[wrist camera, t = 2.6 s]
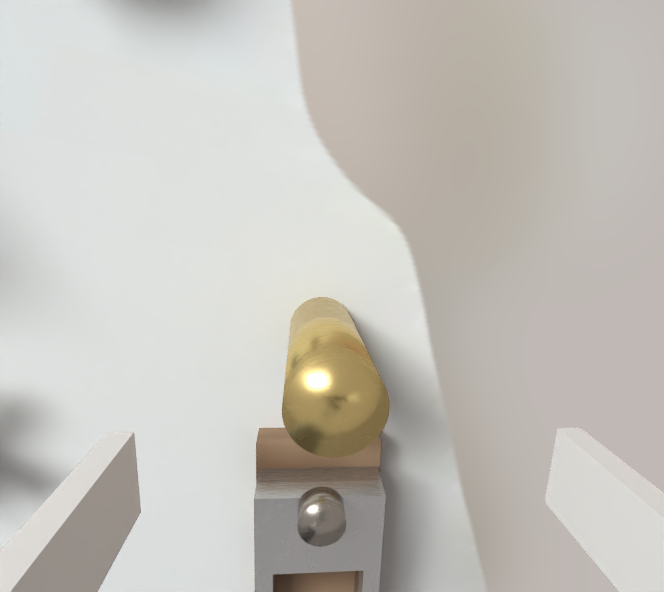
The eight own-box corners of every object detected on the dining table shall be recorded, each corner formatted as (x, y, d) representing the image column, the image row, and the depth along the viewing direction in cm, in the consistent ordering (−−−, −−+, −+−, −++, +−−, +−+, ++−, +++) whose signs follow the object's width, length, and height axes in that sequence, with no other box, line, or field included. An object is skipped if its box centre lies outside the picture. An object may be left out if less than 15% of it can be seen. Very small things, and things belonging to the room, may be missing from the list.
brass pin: (350, 356, 28) (386, 456, 16) (290, 356, 28) (281, 458, 16) (353, 297, 27) (392, 359, 16) (290, 296, 27) (282, 358, 15)
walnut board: (361, 649, 34) (365, 676, 32) (260, 656, 33) (257, 683, 31) (376, 426, 30) (381, 441, 28) (259, 428, 29) (256, 443, 27)
